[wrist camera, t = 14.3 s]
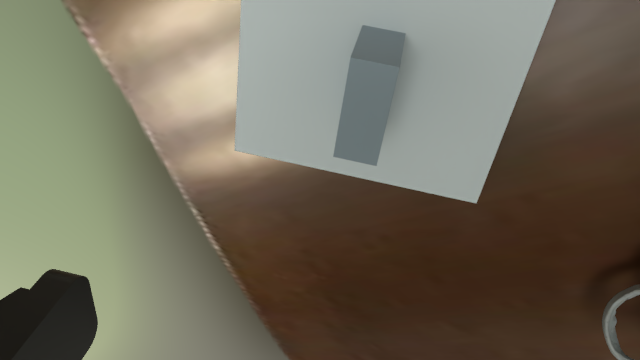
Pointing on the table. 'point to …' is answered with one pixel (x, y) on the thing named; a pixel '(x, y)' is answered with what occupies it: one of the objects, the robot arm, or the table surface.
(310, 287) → the table surface
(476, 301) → the table surface
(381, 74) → the lid
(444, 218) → the table surface
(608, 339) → the ceramic mug
